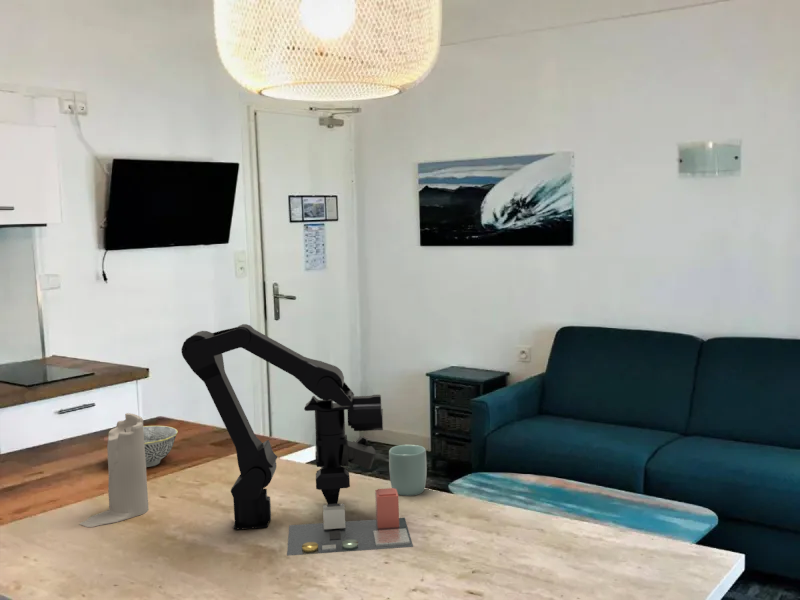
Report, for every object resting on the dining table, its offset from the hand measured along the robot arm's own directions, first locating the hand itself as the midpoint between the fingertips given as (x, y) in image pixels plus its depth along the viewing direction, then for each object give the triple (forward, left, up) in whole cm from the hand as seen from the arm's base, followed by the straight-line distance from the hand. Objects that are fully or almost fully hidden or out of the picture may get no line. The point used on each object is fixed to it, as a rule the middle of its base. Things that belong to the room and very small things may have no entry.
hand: (333, 509), depth 162 cm
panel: (+2, -11, -2) cm, 11 cm away
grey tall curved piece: (-44, +10, -2) cm, 45 cm away
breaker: (0, -6, -1) cm, 7 cm away
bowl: (-45, +46, -2) cm, 65 cm away
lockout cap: (+10, -7, -1) cm, 12 cm away
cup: (+16, +12, -2) cm, 20 cm away
